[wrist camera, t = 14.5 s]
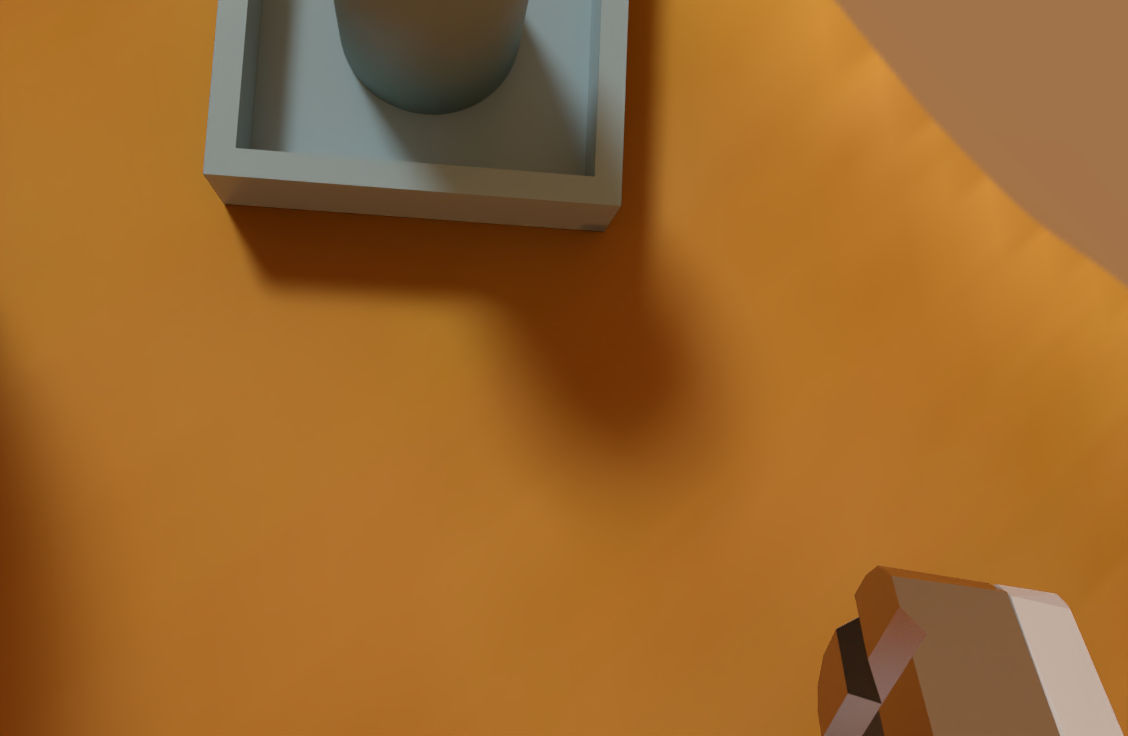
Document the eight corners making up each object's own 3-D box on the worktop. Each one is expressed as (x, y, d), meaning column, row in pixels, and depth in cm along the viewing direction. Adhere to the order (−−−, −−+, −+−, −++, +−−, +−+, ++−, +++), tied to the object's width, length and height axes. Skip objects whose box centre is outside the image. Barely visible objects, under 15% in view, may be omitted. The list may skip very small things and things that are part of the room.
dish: (617, -114, 35) (635, -171, 32) (604, 231, 33) (621, 205, 30) (254, -155, 33) (237, -218, 31) (224, 203, 32) (203, 173, 29)
